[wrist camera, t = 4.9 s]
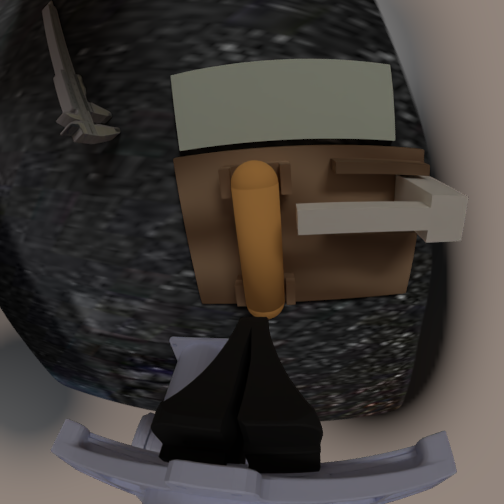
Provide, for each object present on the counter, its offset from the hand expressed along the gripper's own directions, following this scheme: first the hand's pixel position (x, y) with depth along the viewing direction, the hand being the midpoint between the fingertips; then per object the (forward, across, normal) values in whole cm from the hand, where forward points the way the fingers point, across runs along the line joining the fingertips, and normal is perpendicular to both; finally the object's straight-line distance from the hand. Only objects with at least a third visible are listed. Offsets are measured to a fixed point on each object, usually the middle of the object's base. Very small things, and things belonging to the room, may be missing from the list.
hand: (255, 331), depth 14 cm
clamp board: (+10, -4, -2) cm, 11 cm away
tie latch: (+9, -8, -4) cm, 13 cm away
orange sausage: (+8, 0, -2) cm, 8 cm away
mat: (+10, -2, -12) cm, 15 cm away
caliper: (+10, +15, -20) cm, 27 cm away
